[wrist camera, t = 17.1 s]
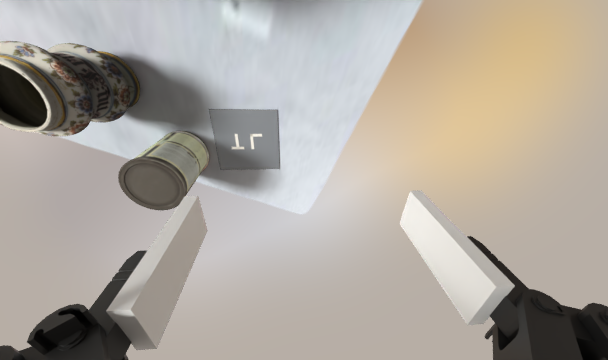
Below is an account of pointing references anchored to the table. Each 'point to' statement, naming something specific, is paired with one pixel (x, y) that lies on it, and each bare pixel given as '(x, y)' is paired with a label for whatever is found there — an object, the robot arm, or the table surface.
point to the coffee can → (164, 171)
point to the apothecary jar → (62, 88)
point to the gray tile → (246, 138)
